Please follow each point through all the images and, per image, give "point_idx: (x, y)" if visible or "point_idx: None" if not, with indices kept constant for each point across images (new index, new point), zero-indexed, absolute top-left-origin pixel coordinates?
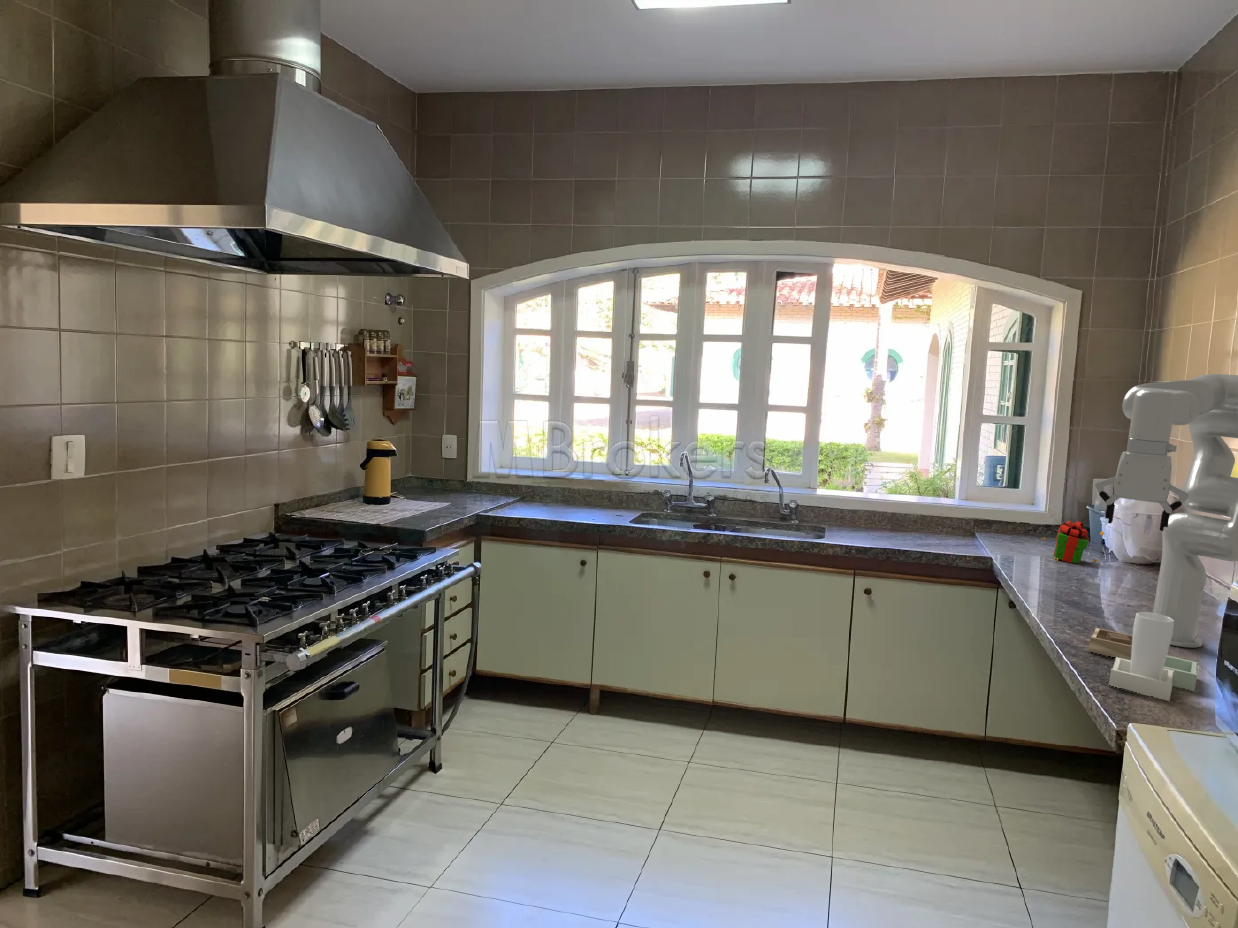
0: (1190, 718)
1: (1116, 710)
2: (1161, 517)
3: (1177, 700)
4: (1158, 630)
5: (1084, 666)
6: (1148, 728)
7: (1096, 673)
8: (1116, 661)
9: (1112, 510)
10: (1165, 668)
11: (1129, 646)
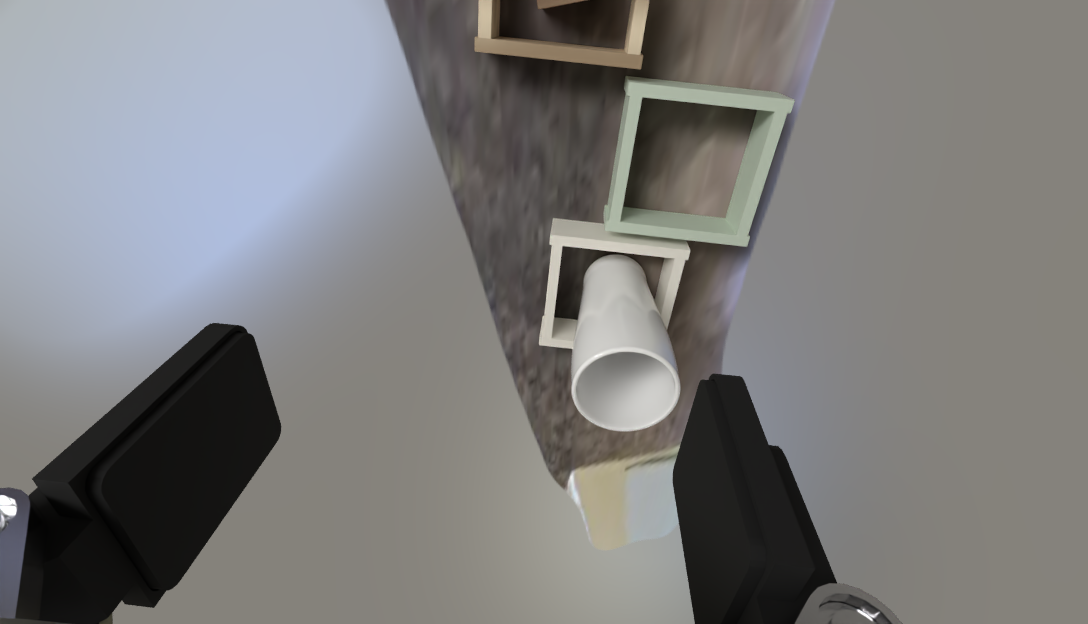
0: (677, 402)
1: (553, 437)
2: (692, 601)
3: (675, 320)
4: (630, 411)
5: (487, 215)
6: (597, 477)
7: (516, 253)
8: (551, 273)
9: (194, 547)
10: (672, 236)
11: (596, 64)
